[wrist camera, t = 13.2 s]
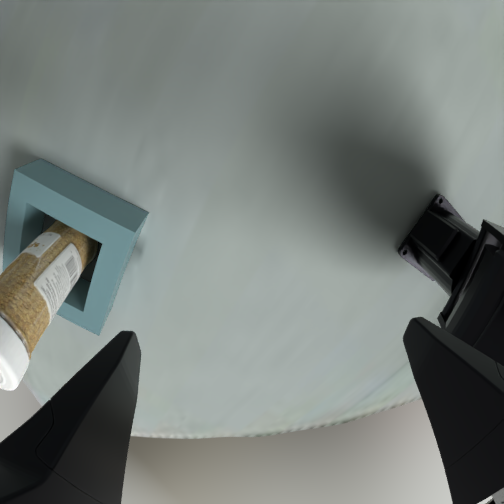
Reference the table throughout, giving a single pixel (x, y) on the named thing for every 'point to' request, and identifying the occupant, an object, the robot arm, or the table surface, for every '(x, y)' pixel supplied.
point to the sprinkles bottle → (37, 293)
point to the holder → (83, 220)
